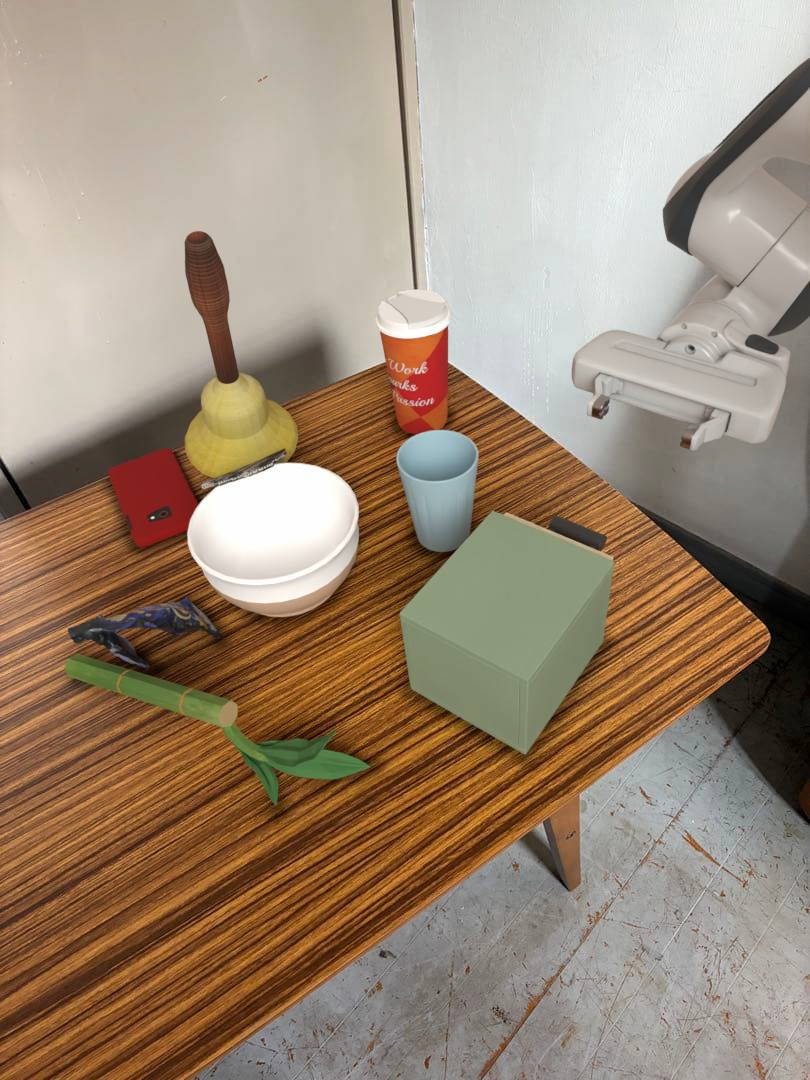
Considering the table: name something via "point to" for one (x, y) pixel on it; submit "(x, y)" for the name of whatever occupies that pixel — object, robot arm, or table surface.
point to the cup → (439, 486)
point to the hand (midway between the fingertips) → (639, 427)
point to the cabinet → (507, 628)
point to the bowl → (277, 538)
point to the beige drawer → (571, 534)
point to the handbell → (228, 382)
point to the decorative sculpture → (246, 470)
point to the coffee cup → (416, 357)
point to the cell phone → (153, 496)
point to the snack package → (160, 616)
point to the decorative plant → (221, 724)
